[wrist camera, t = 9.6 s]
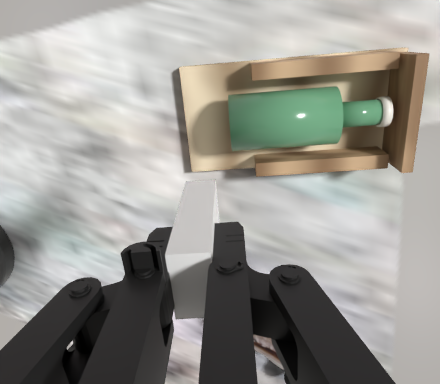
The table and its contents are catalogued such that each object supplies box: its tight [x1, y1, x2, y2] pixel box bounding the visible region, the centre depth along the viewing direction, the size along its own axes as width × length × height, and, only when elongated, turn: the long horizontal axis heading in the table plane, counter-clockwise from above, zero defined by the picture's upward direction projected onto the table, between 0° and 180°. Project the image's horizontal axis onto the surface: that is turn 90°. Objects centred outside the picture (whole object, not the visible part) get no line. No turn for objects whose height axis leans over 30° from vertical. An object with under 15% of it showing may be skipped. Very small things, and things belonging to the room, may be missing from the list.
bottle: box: [228, 86, 393, 151], centre depth 34 cm, size 5×5×15 cm
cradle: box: [179, 48, 429, 177], centre depth 34 cm, size 22×11×6 cm, turn 95°
